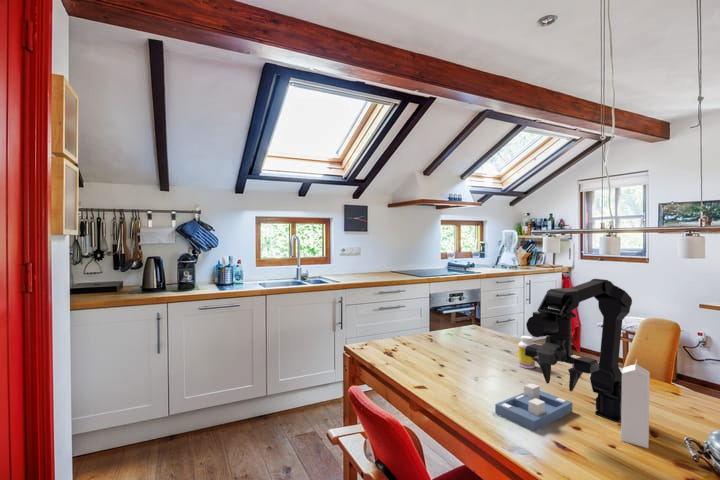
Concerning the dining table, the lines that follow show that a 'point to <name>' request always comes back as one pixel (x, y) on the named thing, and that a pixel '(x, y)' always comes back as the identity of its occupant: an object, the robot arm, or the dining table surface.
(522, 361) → the supplement bottle
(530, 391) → the tab
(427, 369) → the dining table surface
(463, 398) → the dining table surface
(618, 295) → the robot arm
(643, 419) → the milk
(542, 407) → the tab
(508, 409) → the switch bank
